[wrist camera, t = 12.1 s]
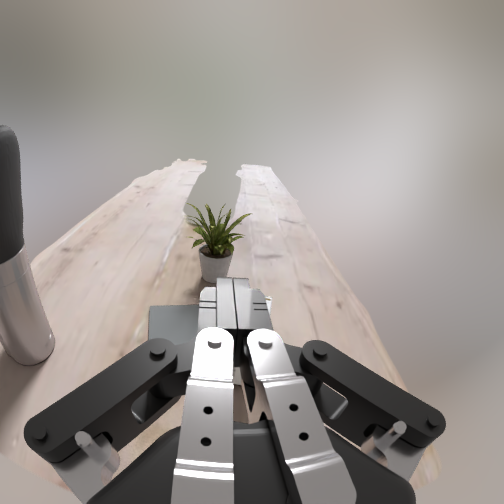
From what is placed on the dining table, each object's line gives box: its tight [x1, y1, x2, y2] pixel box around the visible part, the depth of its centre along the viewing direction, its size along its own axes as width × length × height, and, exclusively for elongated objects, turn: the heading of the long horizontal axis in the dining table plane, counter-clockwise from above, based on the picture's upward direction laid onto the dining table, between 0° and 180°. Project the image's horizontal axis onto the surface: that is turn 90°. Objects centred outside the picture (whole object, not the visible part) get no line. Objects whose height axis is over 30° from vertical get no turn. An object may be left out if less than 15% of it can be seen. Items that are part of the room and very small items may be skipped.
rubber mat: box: [149, 305, 199, 345], centre depth 42 cm, size 20×16×1 cm
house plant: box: [187, 203, 253, 283], centre depth 55 cm, size 14×14×16 cm
